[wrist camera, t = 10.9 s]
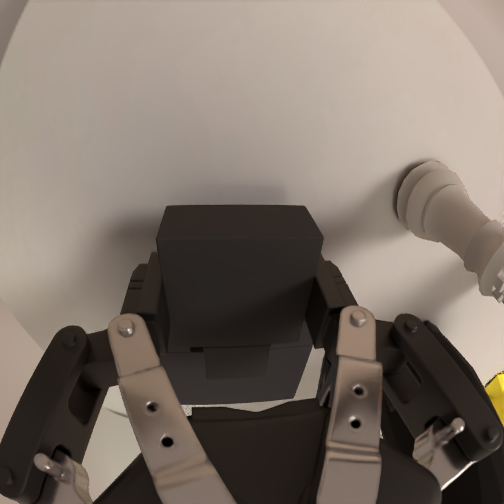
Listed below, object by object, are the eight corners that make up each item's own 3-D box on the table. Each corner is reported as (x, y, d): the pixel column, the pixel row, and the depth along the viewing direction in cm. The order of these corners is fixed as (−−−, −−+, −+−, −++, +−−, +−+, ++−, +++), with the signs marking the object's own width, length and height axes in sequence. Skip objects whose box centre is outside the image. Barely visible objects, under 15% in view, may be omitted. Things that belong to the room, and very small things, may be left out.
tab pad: (183, 342, 16) (182, 380, 14) (165, 205, 11) (155, 238, 9) (281, 339, 16) (289, 375, 14) (305, 205, 12) (324, 236, 10)
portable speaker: (451, 327, 24) (531, 483, 8) (384, 382, 27) (439, 533, 11) (422, 300, 20) (528, 512, 4) (339, 369, 24) (400, 568, 8)
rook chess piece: (436, 228, 16) (513, 312, 10) (383, 226, 16) (464, 328, 9) (457, 164, 14) (555, 235, 7) (403, 152, 13) (517, 231, 7)
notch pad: (165, 378, 22) (163, 404, 19) (140, 285, 16) (132, 316, 14) (287, 373, 23) (293, 398, 21) (312, 280, 17) (324, 310, 15)
